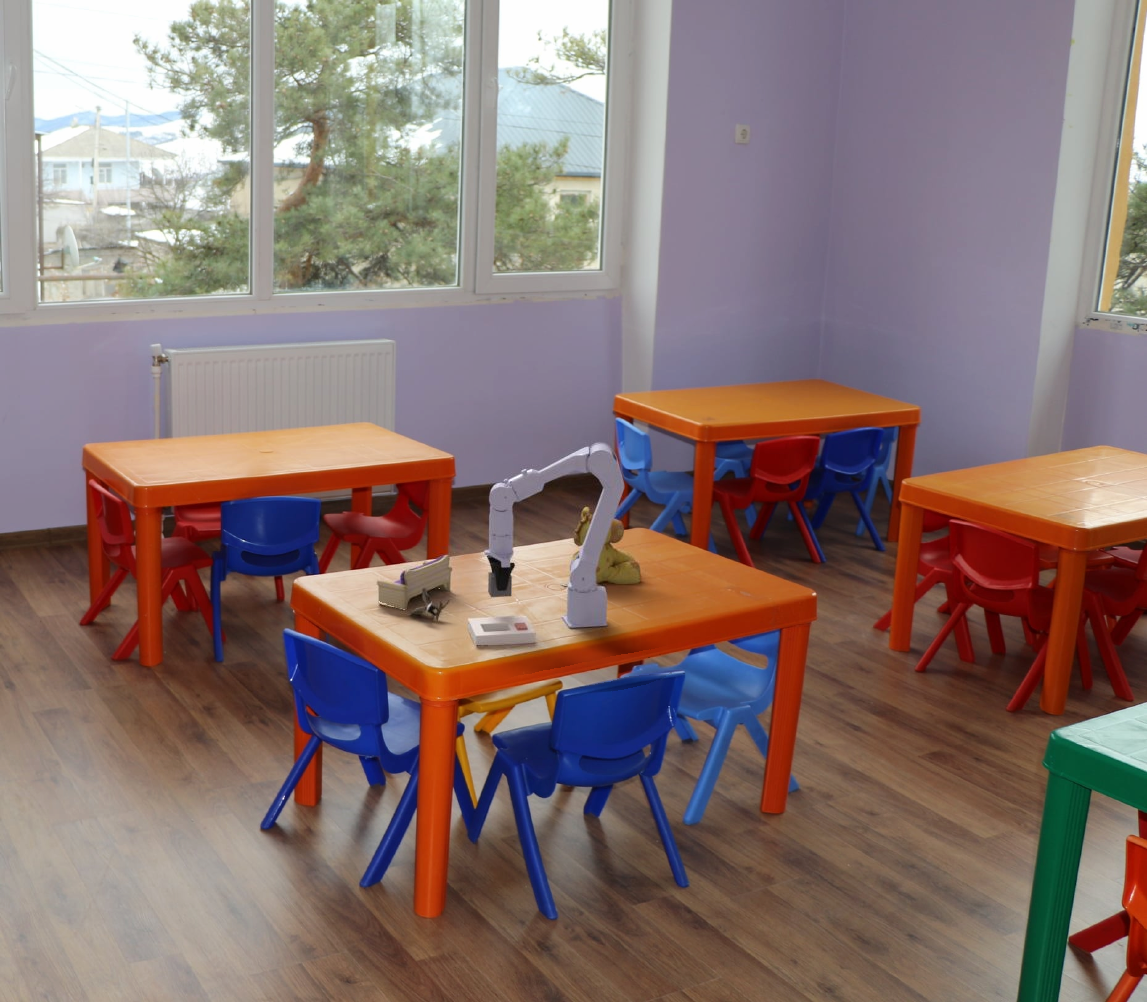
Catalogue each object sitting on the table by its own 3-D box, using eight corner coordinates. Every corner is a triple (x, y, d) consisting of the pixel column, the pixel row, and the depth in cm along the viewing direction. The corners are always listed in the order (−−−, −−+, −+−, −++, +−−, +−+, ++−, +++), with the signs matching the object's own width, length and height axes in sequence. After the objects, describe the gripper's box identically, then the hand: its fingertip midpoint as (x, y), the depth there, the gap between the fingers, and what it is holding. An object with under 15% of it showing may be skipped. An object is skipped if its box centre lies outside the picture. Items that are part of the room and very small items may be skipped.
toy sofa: (425, 584, 337) (425, 547, 334) (452, 590, 333) (452, 552, 330) (376, 606, 319) (375, 566, 317) (404, 612, 315) (403, 572, 313)
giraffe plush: (654, 579, 347) (657, 511, 342) (593, 597, 330) (596, 525, 326) (600, 562, 361) (602, 496, 356) (539, 578, 344) (541, 509, 340)
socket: (525, 625, 308) (525, 613, 307) (535, 642, 297) (535, 630, 296) (467, 628, 305) (467, 616, 304) (475, 646, 293) (475, 633, 293)
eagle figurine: (453, 610, 314) (426, 596, 318) (446, 592, 308) (419, 578, 313) (434, 632, 310) (406, 618, 314) (426, 614, 305) (399, 600, 309)
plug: (508, 591, 312) (508, 571, 311) (511, 596, 308) (511, 576, 307) (488, 592, 311) (488, 572, 309) (490, 597, 307) (491, 577, 306)
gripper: (479, 525, 311) (479, 578, 315) (489, 542, 298) (488, 597, 301) (508, 524, 313) (507, 577, 316) (519, 541, 299) (518, 596, 303)
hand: (500, 587), depth 309 cm, fingers closed on plug, 4 cm apart
